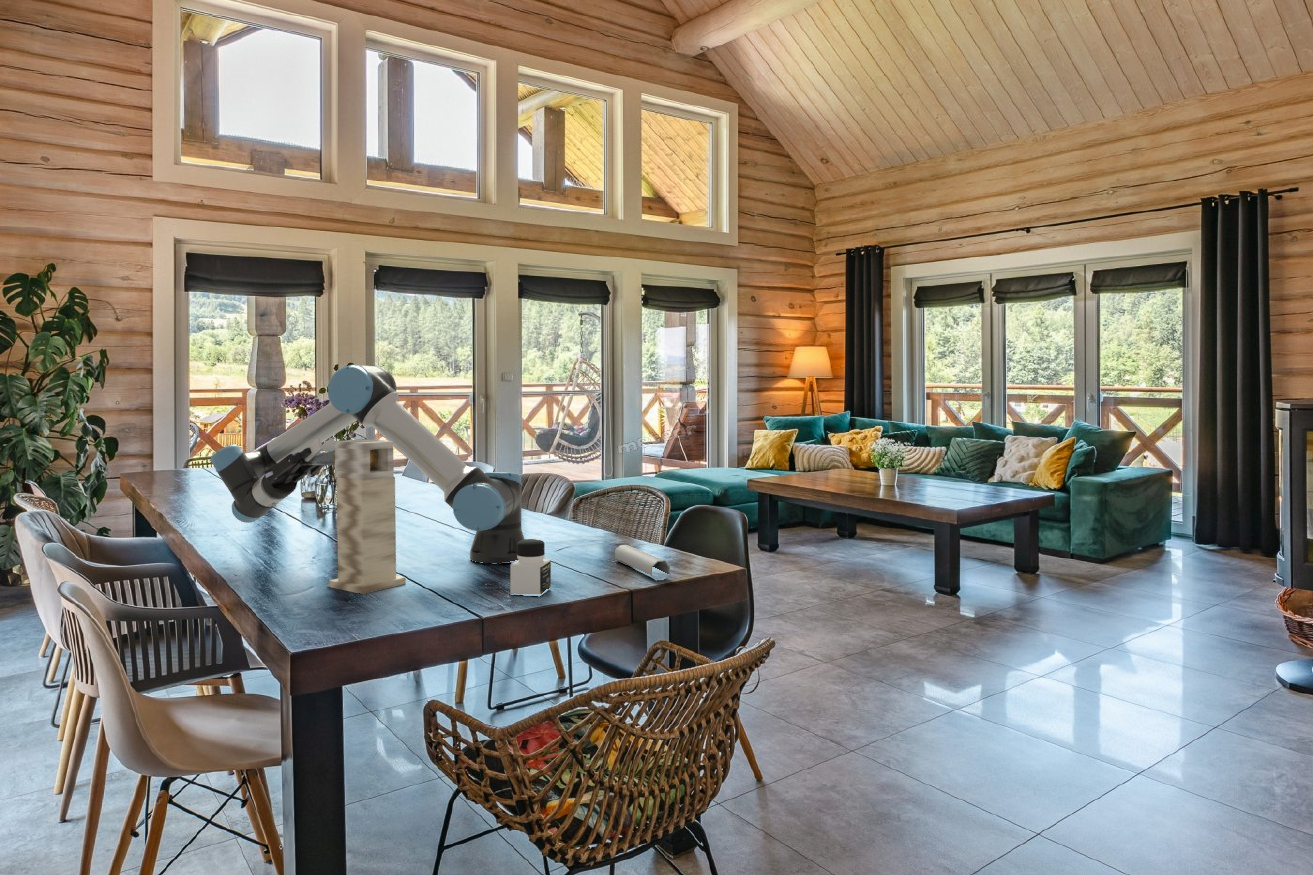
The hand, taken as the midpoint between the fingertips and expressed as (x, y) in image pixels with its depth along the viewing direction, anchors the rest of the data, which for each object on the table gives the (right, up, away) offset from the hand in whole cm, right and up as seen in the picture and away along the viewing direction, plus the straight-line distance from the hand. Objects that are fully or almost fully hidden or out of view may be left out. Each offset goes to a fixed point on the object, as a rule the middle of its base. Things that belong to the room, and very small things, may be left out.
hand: (327, 443), depth 208 cm
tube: (+73, -32, +14) cm, 81 cm away
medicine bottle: (+49, -34, -10) cm, 61 cm away
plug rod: (+2, -6, -1) cm, 6 cm away
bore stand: (+11, -33, -5) cm, 35 cm away
